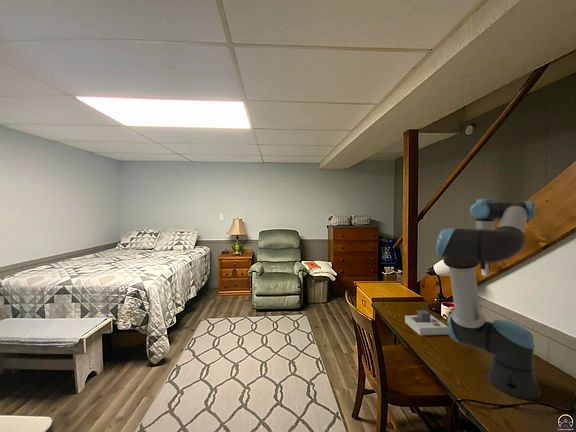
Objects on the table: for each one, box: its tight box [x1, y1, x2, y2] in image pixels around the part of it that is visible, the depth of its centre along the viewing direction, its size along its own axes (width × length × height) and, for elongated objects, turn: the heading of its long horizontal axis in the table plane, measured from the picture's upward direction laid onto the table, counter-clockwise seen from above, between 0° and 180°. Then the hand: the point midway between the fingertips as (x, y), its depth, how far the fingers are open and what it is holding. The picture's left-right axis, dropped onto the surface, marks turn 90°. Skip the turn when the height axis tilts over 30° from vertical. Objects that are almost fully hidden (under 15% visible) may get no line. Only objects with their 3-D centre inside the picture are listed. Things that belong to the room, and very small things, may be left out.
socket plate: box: [404, 314, 449, 336], centre depth 143 cm, size 16×16×5 cm
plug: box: [416, 309, 431, 323], centre depth 145 cm, size 5×5×8 cm
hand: (484, 275), depth 126 cm, fingers closed
